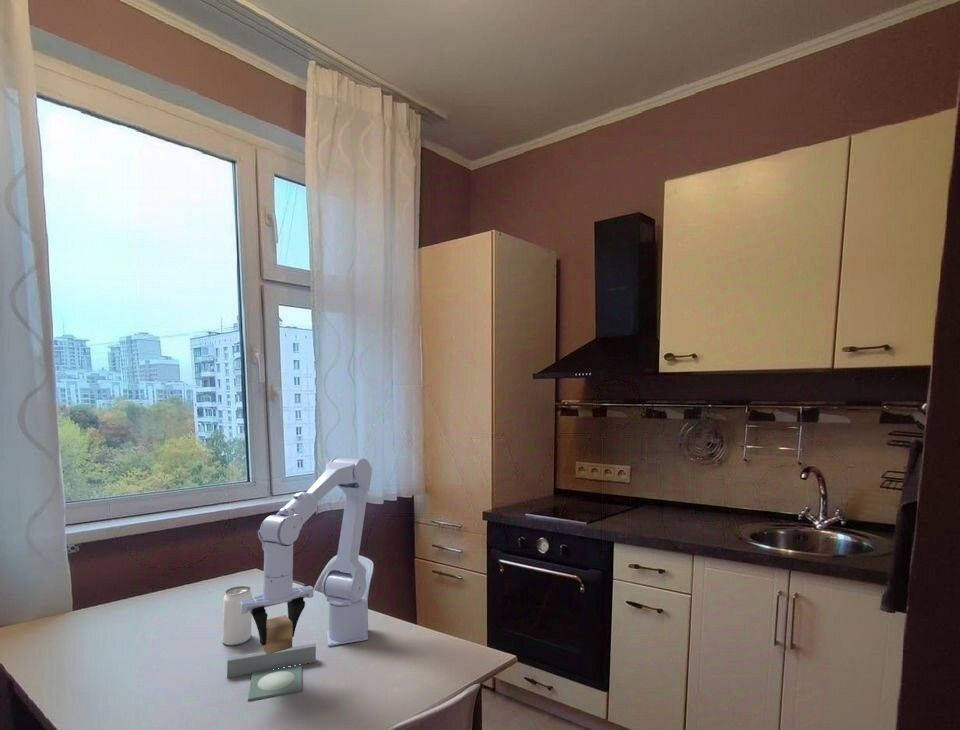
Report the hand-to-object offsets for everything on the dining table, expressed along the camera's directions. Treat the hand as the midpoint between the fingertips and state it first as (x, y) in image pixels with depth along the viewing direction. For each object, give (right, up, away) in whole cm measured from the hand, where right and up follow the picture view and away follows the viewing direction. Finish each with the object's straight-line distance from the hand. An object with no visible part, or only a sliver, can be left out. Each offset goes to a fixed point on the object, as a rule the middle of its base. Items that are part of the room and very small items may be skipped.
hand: (277, 639), depth 106 cm
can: (-17, -10, +19) cm, 28 cm away
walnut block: (0, -2, 0) cm, 2 cm away
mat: (0, -9, -1) cm, 9 cm away
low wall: (-3, -9, +5) cm, 11 cm away
